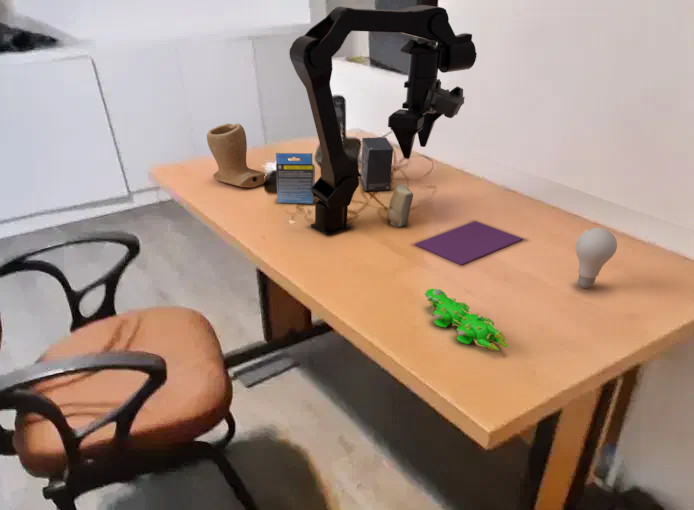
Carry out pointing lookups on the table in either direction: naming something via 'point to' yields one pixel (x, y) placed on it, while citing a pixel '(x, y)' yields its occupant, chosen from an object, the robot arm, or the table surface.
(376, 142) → the small box
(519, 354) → the table surface
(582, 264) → the lightbulb
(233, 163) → the tan boot-shaped vase
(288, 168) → the tape cartridge
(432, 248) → the felt cloth
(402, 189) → the grey rounded block
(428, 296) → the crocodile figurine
